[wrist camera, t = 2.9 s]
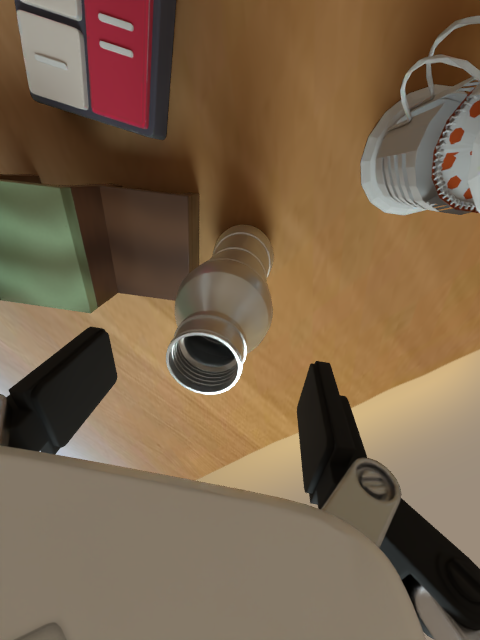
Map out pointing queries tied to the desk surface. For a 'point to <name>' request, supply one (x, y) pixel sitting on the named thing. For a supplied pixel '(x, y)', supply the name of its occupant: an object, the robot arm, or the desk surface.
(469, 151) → the french press
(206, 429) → the desk surface
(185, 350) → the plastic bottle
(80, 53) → the calculator
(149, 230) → the shelf
